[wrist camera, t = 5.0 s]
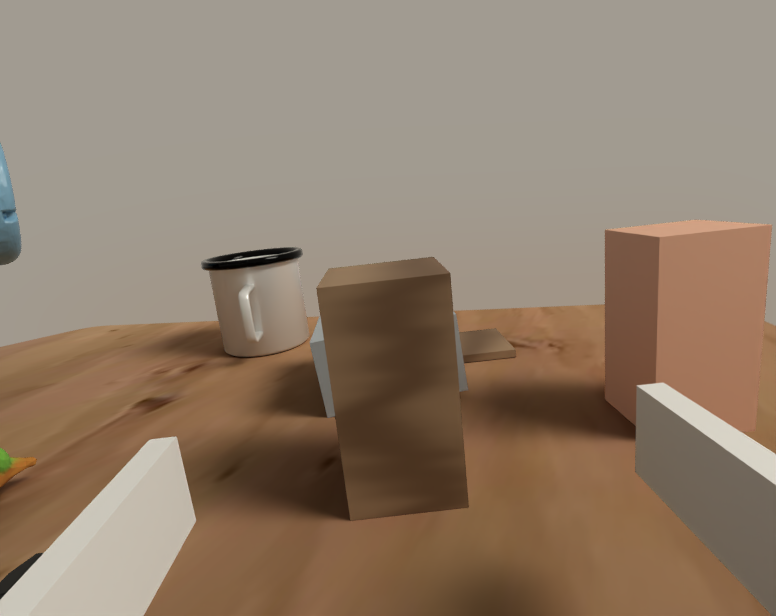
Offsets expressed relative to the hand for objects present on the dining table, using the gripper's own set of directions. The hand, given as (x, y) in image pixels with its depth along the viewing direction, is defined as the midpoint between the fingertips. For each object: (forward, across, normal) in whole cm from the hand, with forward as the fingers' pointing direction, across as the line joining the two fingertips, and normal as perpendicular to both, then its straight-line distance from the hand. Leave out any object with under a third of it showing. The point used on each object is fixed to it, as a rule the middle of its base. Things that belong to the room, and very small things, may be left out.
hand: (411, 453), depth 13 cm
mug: (+32, -12, -6) cm, 35 cm away
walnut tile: (+25, +6, -6) cm, 26 cm away
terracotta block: (+11, +14, -6) cm, 19 cm away
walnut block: (+8, 0, -6) cm, 10 cm away
